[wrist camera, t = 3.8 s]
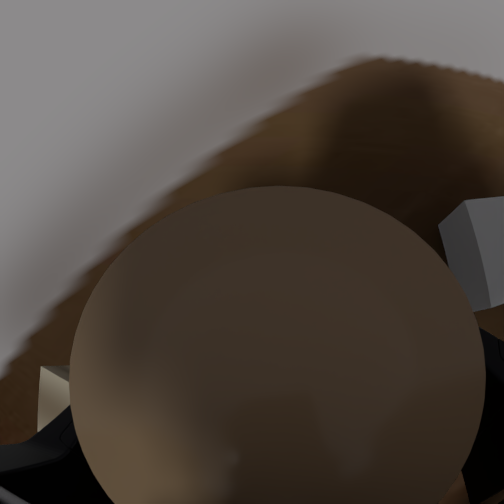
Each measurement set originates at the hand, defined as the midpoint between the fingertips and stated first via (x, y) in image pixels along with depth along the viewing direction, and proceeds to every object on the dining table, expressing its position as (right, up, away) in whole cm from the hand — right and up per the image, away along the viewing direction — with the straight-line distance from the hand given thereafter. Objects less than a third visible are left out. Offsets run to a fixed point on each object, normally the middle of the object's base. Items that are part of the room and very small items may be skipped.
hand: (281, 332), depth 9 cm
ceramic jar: (+1, -3, +7) cm, 8 cm away
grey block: (+14, +2, +7) cm, 15 cm away
